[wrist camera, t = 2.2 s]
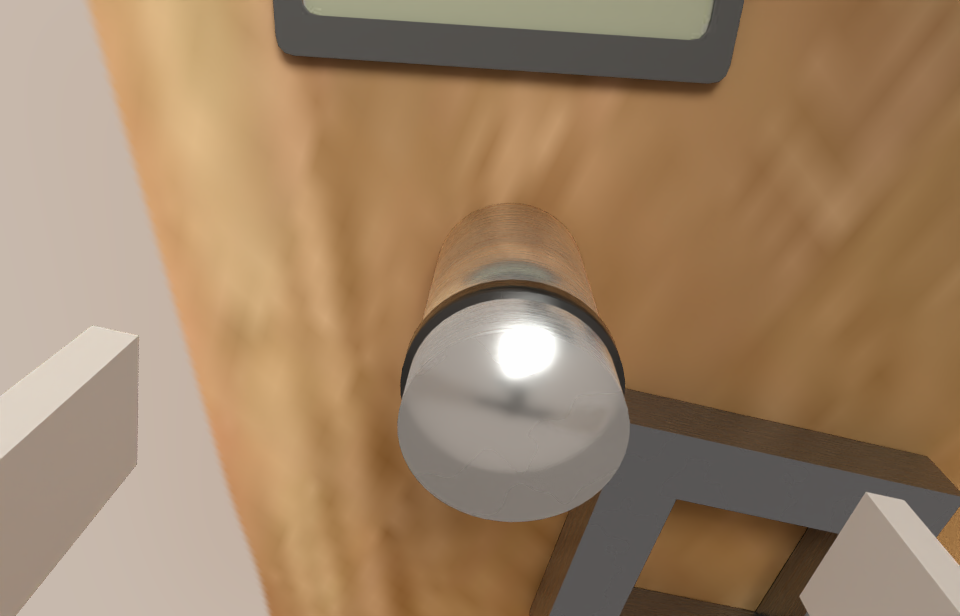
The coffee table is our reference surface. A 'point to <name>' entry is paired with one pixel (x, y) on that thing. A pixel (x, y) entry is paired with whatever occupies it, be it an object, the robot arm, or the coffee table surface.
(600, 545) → the bore plate
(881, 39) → the coffee table surface
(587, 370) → the piston
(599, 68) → the calculator
